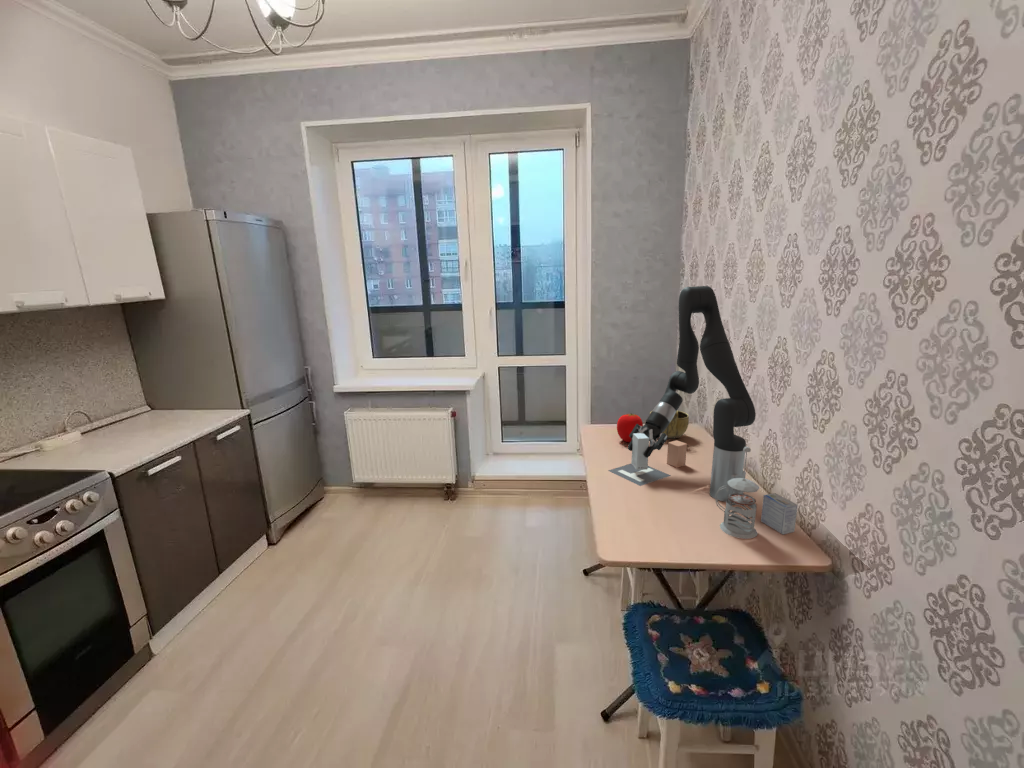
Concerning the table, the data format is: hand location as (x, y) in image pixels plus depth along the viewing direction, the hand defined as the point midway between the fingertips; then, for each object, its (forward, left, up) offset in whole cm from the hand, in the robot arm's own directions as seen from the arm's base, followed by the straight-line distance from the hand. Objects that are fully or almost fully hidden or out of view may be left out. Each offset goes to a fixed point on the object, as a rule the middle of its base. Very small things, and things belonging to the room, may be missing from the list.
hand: (637, 452), depth 169 cm
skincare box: (0, -2, -6) cm, 6 cm away
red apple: (+27, -24, -9) cm, 37 cm away
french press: (-42, +5, -9) cm, 43 cm away
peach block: (-2, -19, -9) cm, 21 cm away
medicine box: (-48, -6, -9) cm, 49 cm away
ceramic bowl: (+22, -43, -9) cm, 49 cm away
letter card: (0, -1, -8) cm, 9 cm away
